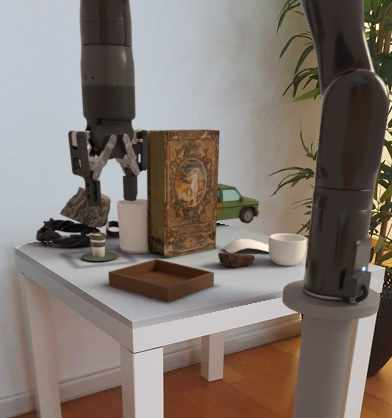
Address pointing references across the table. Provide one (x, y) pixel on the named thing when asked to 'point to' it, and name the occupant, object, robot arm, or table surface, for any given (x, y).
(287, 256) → the teacup
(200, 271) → the tray
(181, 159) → the book
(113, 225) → the watch
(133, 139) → the robot arm
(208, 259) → the table surface
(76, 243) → the cable
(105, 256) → the olive disc with post
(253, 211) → the toy truck
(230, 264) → the stone
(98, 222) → the stone block
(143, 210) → the mug
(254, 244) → the computer mouse
